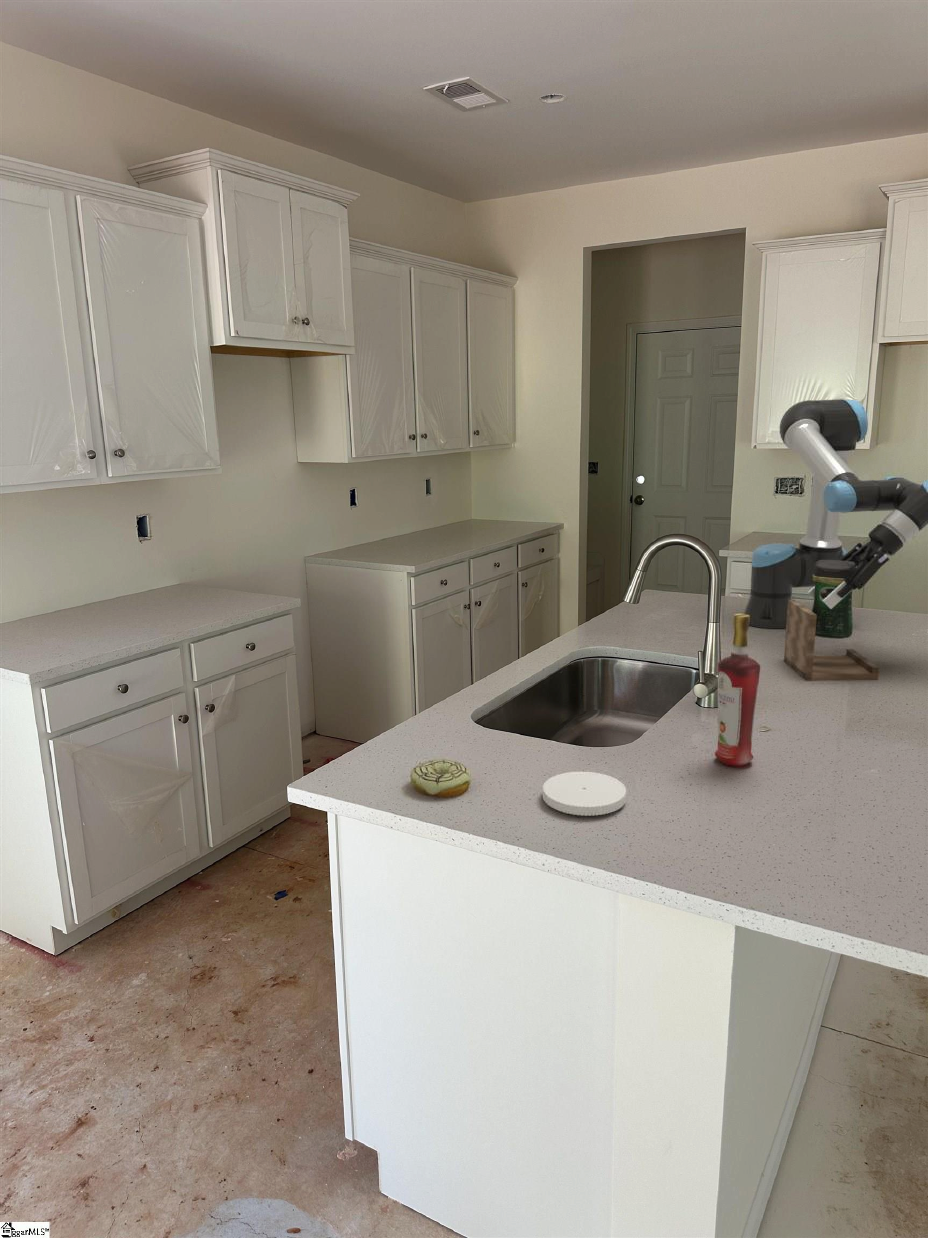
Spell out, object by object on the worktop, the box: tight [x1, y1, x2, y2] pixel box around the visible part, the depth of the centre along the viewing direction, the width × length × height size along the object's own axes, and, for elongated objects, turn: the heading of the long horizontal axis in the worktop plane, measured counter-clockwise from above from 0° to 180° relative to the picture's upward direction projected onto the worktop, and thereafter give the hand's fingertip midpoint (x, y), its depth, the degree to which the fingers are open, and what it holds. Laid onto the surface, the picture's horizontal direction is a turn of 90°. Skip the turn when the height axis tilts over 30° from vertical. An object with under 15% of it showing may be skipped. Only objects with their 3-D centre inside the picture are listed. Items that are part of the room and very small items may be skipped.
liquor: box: [714, 613, 761, 768], centre depth 159 cm, size 7×7×28 cm
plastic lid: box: [542, 771, 627, 817], centre depth 148 cm, size 14×14×2 cm
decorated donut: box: [409, 758, 472, 798], centre depth 154 cm, size 10×11×4 cm
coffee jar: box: [811, 560, 857, 640], centre depth 211 cm, size 10×8×19 cm
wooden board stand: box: [783, 599, 880, 681], centre depth 214 cm, size 16×17×16 cm
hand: (819, 600), depth 212 cm, fingers closed on coffee jar, 9 cm apart
